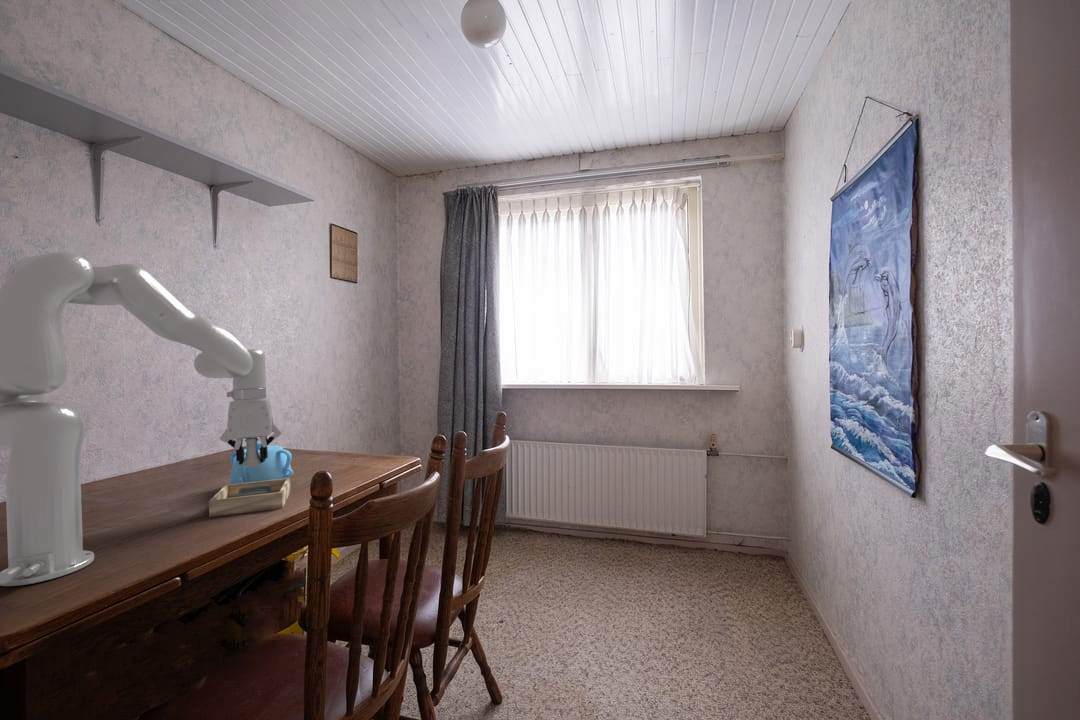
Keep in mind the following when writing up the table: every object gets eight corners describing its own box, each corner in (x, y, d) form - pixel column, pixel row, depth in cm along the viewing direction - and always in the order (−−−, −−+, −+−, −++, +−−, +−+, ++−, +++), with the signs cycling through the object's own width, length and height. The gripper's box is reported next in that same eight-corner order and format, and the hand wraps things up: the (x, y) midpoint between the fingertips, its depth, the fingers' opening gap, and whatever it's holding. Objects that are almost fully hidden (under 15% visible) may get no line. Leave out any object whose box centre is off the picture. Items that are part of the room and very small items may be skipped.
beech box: (282, 507, 120) (282, 492, 120) (209, 517, 114) (208, 501, 114) (290, 491, 135) (290, 478, 135) (226, 499, 129) (225, 484, 129)
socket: (266, 503, 122) (266, 491, 122) (233, 507, 120) (232, 495, 120) (271, 495, 130) (271, 484, 129) (240, 499, 127) (239, 488, 127)
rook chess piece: (266, 464, 126) (265, 435, 126) (251, 468, 122) (250, 438, 122) (253, 463, 127) (252, 434, 127) (238, 467, 123) (237, 437, 123)
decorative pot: (229, 485, 144) (227, 442, 144) (287, 476, 153) (286, 435, 153) (231, 497, 131) (229, 450, 130) (295, 487, 140) (293, 442, 140)
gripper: (208, 398, 118) (211, 469, 118) (283, 394, 124) (285, 461, 124) (216, 395, 125) (219, 463, 125) (287, 392, 131) (289, 456, 131)
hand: (252, 461), depth 125 cm, fingers closed on rook chess piece, 4 cm apart
